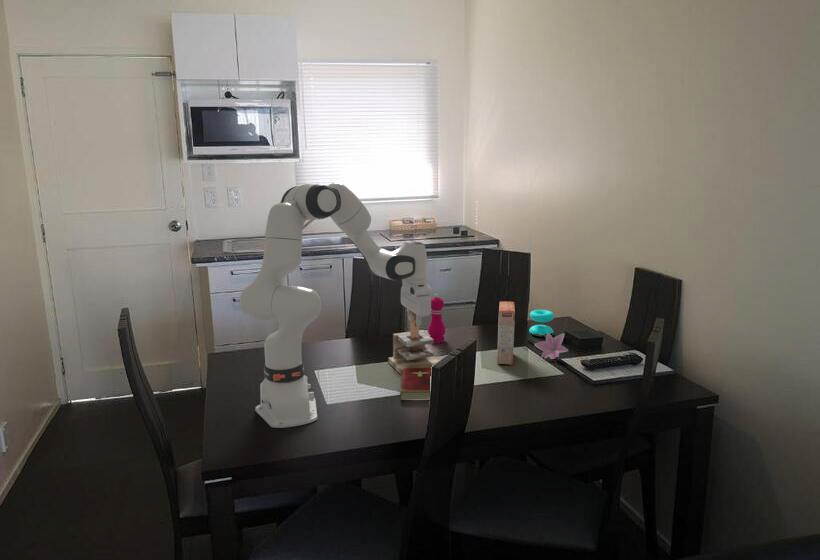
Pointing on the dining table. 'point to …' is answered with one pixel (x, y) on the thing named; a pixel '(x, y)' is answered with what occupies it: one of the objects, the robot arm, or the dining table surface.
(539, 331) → the donuts
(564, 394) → the dining table surface
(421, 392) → the hardcover book
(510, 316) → the cracker box
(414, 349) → the copper tube
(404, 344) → the collar stand
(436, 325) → the pepper mill
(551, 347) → the lily
